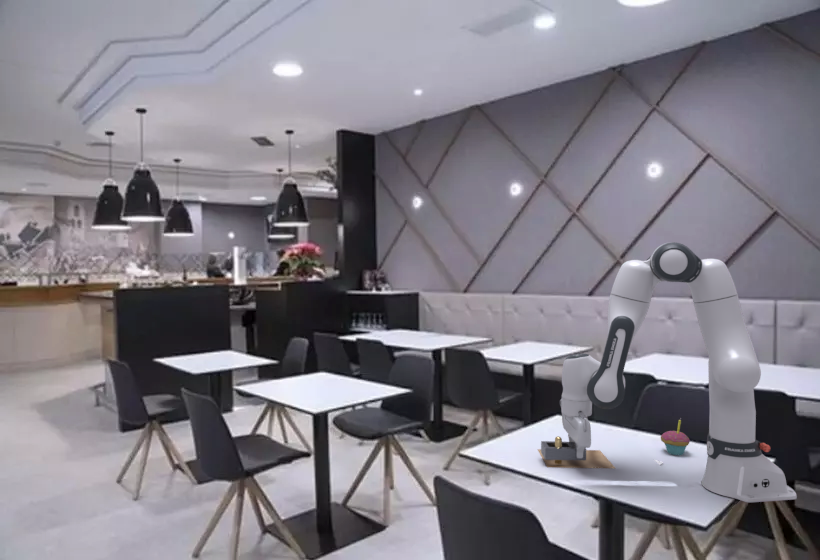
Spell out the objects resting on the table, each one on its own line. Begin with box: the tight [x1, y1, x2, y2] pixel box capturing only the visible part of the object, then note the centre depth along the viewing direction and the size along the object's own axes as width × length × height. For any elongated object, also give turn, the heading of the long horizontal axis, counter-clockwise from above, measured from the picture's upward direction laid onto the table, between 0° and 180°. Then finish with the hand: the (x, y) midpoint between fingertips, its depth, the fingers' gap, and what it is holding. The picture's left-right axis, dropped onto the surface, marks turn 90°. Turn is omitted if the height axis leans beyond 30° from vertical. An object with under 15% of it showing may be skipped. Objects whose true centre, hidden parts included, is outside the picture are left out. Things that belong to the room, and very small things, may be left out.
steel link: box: [540, 440, 587, 460], centre depth 173 cm, size 12×7×3 cm, turn 88°
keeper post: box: [554, 436, 563, 464], centre depth 173 cm, size 2×2×8 cm
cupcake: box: [660, 417, 691, 456], centre depth 186 cm, size 9×8×12 cm
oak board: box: [537, 448, 617, 469], centre depth 177 cm, size 20×16×2 cm
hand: (575, 452), depth 173 cm, fingers closed on steel link, 7 cm apart
